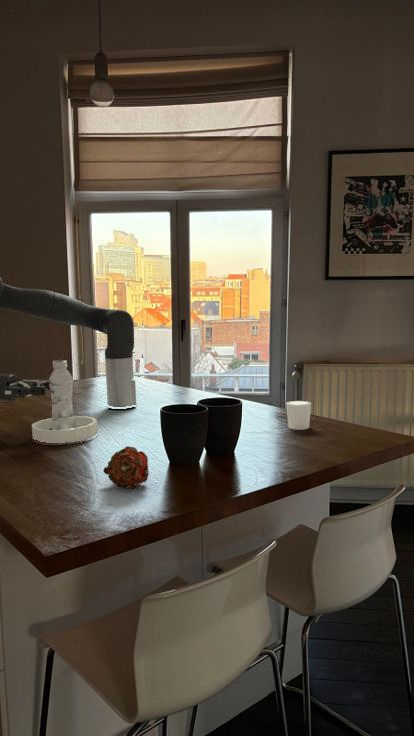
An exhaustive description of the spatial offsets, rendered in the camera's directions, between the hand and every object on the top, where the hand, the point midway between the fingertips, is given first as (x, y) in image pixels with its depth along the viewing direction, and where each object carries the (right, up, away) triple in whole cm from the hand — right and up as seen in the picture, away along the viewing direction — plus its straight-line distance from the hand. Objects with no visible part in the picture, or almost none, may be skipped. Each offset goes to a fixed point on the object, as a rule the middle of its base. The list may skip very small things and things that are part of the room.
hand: (52, 388), depth 151 cm
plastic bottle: (+3, -13, +1) cm, 13 cm away
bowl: (+3, -13, +1) cm, 14 cm away
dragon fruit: (+26, -18, -38) cm, 50 cm away
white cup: (+67, -11, +4) cm, 68 cm away
